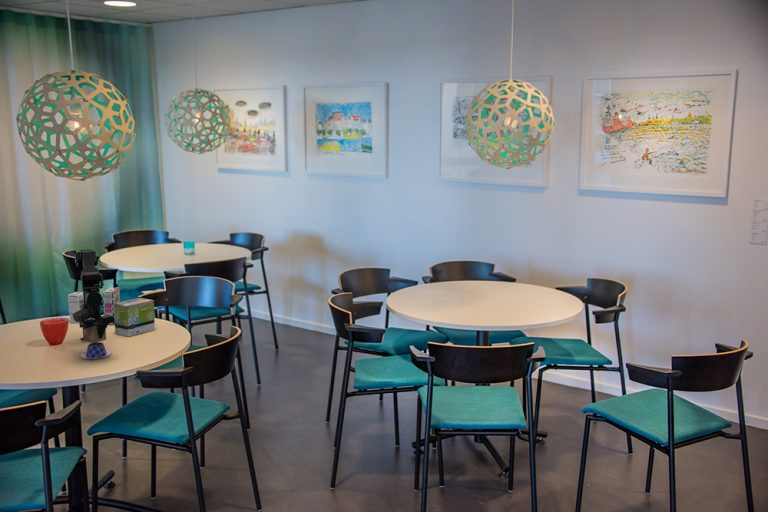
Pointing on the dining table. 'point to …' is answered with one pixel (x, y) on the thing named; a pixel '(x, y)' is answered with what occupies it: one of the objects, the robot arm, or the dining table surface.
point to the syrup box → (75, 304)
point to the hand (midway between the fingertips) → (95, 337)
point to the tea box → (134, 317)
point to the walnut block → (93, 335)
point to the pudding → (96, 351)
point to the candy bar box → (110, 301)
